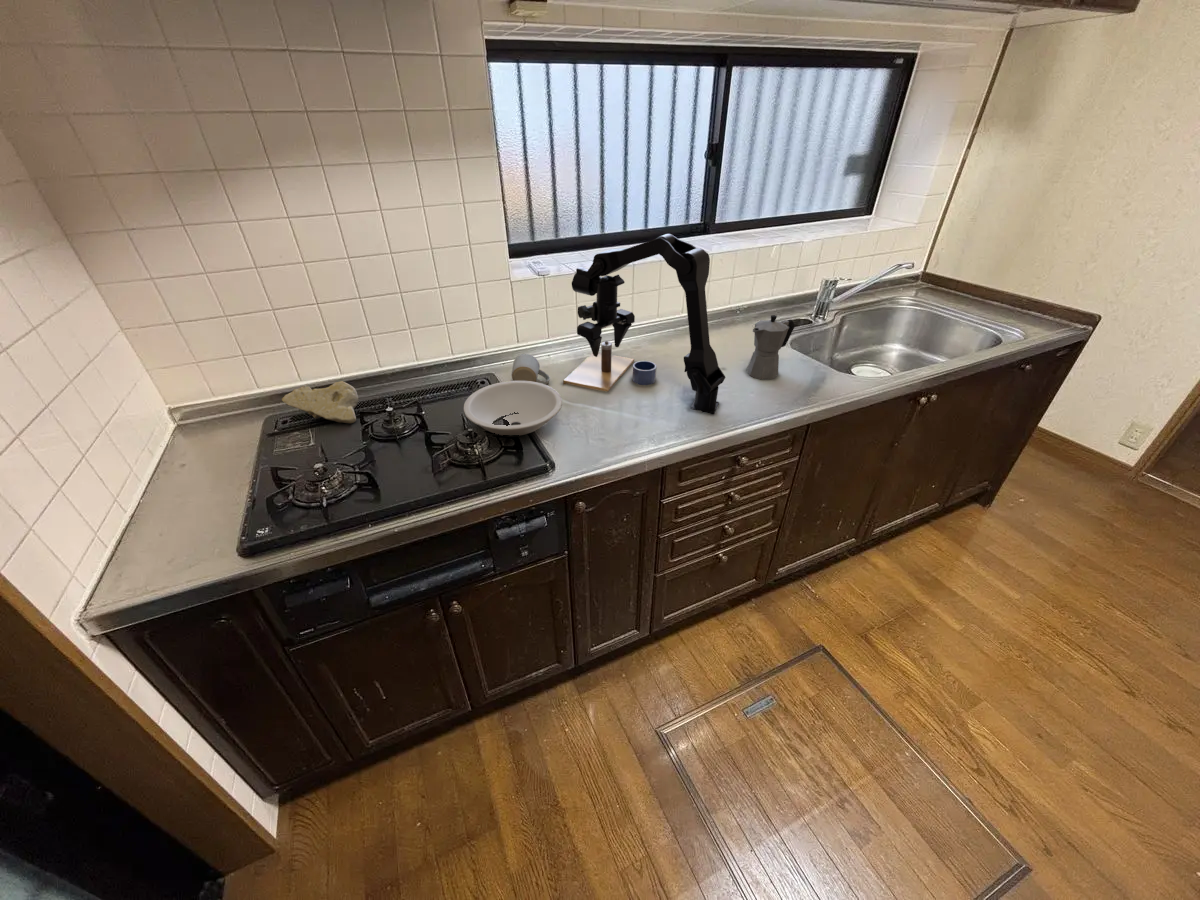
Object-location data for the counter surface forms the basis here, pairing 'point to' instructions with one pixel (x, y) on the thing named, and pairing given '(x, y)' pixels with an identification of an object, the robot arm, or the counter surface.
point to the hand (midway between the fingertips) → (606, 351)
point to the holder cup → (644, 372)
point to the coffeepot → (768, 347)
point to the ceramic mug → (528, 369)
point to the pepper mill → (606, 356)
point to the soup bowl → (513, 406)
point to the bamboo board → (598, 373)
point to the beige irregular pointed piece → (326, 401)
